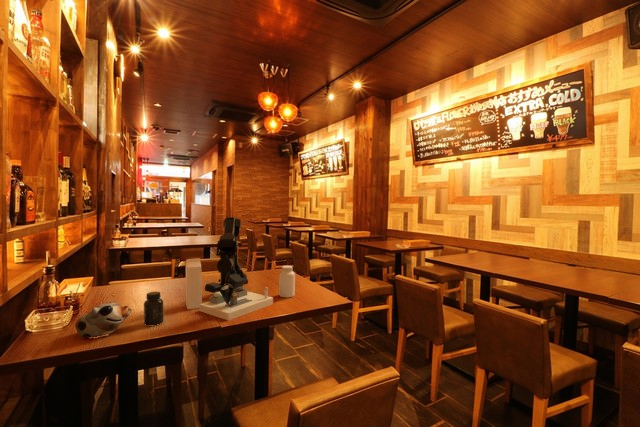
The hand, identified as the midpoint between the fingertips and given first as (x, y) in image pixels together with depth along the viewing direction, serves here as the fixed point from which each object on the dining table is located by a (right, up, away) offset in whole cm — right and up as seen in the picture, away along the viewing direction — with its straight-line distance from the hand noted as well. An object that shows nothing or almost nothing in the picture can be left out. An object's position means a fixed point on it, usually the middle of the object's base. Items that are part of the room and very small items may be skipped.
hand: (227, 303), depth 139 cm
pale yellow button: (-6, +1, +7) cm, 9 cm away
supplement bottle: (-26, -5, -11) cm, 28 cm away
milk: (-18, -4, +9) cm, 21 cm away
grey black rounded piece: (-39, -5, -20) cm, 44 cm away
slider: (+2, -1, +3) cm, 3 cm away
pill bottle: (+23, -4, +27) cm, 36 cm away
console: (+2, -4, +9) cm, 10 cm away
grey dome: (+1, +1, +17) cm, 17 cm away
